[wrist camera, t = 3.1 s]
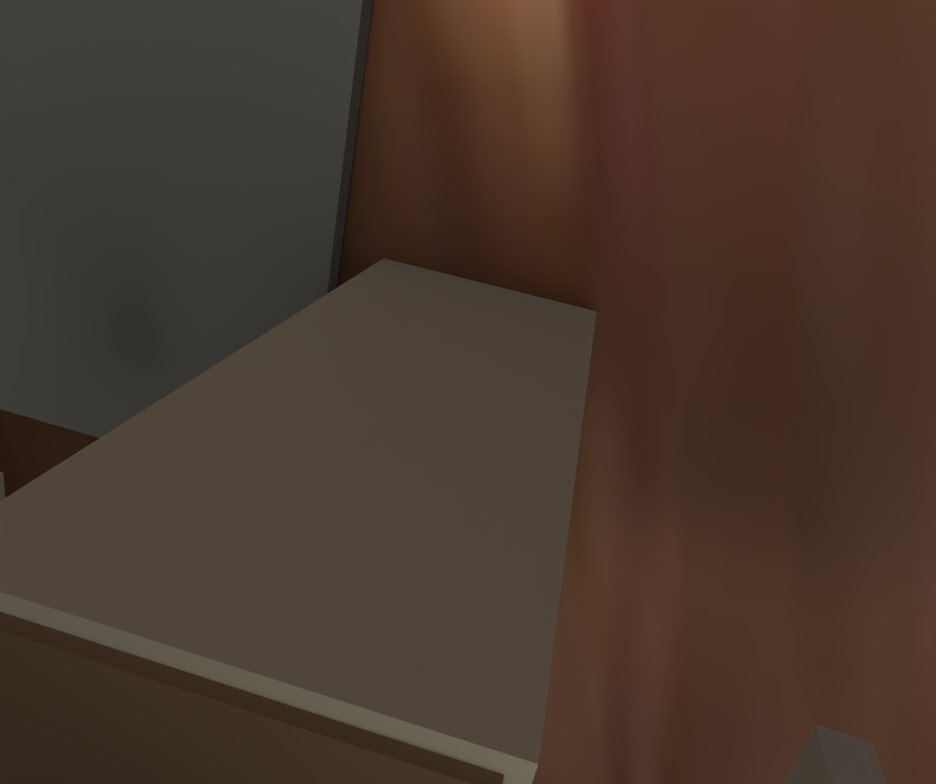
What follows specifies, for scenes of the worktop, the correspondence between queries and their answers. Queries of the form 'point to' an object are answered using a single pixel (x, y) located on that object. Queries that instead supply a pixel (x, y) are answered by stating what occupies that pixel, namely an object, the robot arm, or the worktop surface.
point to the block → (309, 554)
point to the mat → (164, 189)
